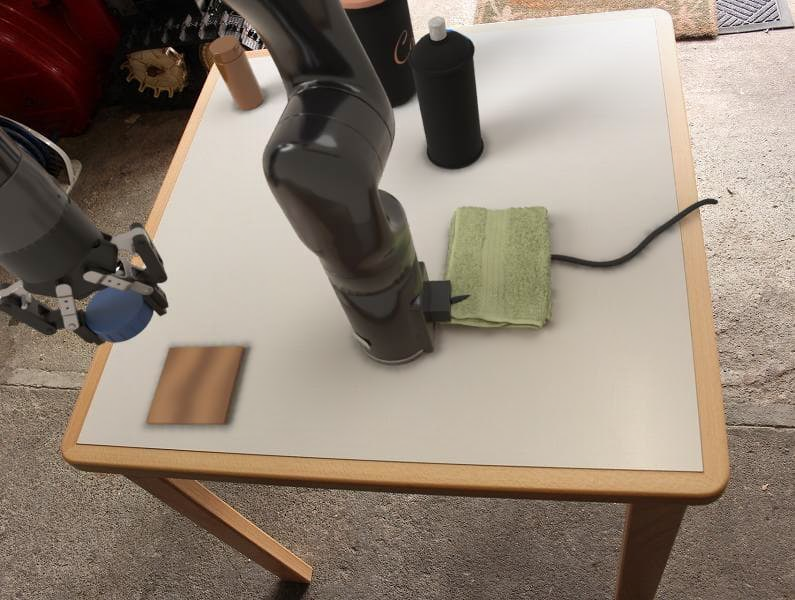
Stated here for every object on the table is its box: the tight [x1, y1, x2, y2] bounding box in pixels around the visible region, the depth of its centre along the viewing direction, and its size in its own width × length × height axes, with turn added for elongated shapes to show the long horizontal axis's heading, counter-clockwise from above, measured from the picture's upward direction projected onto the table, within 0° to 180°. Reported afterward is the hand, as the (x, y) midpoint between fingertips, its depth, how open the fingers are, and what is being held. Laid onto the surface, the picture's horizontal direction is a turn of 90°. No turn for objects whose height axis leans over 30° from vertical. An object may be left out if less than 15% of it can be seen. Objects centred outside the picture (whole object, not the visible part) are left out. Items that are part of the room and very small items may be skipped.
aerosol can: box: [408, 16, 485, 170], centre depth 79 cm, size 8×8×20 cm
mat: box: [145, 345, 246, 426], centre depth 73 cm, size 10×10×1 cm
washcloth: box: [439, 205, 554, 330], centre depth 73 cm, size 13×18×3 cm
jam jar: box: [208, 34, 265, 112], centre depth 99 cm, size 5×5×11 cm
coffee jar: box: [340, 0, 417, 109], centre depth 91 cm, size 11×11×18 cm
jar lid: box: [84, 287, 155, 344], centre depth 60 cm, size 6×6×2 cm
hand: (132, 322), depth 62 cm, fingers closed on jar lid, 6 cm apart
